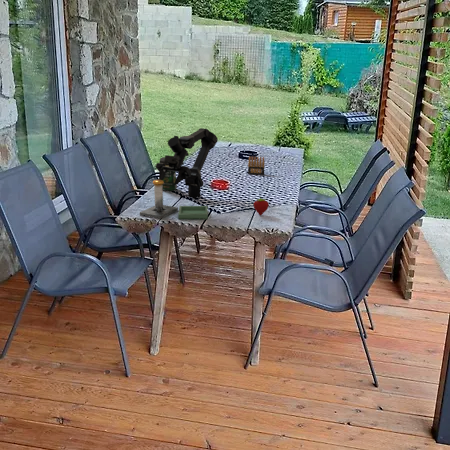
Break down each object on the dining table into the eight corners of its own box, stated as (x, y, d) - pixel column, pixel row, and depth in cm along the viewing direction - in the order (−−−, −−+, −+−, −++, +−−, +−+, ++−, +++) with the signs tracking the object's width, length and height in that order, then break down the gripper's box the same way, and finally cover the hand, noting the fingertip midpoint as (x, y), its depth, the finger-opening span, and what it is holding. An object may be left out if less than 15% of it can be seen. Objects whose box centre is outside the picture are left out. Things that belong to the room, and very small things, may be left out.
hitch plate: (158, 206, 272) (158, 204, 271) (178, 210, 267) (178, 207, 266) (139, 215, 259) (139, 212, 258) (160, 219, 253) (159, 216, 253)
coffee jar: (158, 190, 302) (157, 158, 296) (163, 187, 310) (162, 155, 304) (173, 191, 300) (173, 159, 294) (178, 188, 307) (178, 156, 301)
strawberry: (268, 217, 258) (269, 197, 255) (253, 217, 258) (254, 197, 255) (267, 213, 264) (268, 194, 261) (252, 213, 264) (253, 193, 260)
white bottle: (166, 212, 263) (165, 181, 258) (158, 215, 259) (157, 182, 254) (159, 210, 266) (158, 179, 261) (151, 212, 262) (150, 181, 257)
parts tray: (179, 210, 266) (179, 205, 265) (207, 210, 267) (207, 206, 266) (178, 219, 253) (178, 214, 252) (207, 219, 254) (207, 214, 253)
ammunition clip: (247, 174, 342) (248, 156, 339) (247, 173, 344) (248, 155, 340) (264, 175, 341) (264, 156, 337) (264, 174, 343) (265, 156, 339)
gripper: (156, 147, 268) (144, 172, 262) (188, 150, 260) (176, 177, 254) (165, 159, 277) (154, 184, 271) (196, 163, 269) (185, 189, 263)
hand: (167, 183), depth 265 cm, fingers open, 9 cm apart
